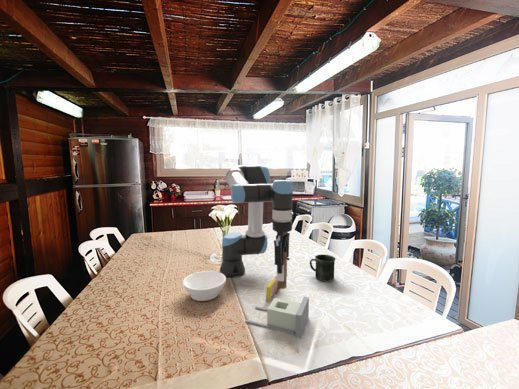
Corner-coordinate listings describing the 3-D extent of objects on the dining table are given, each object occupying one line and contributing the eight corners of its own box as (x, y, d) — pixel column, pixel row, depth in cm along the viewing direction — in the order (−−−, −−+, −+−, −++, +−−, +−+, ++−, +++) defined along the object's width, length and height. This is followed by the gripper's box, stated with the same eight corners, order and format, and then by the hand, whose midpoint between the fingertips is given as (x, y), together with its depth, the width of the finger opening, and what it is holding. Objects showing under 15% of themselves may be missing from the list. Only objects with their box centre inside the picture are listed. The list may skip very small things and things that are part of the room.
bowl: (233, 288, 135) (233, 273, 134) (213, 310, 115) (212, 292, 114) (198, 282, 141) (197, 268, 140) (174, 302, 122) (173, 285, 121)
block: (267, 325, 101) (267, 308, 101) (274, 313, 110) (274, 297, 109) (297, 332, 97) (297, 315, 96) (302, 319, 105) (302, 303, 104)
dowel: (276, 287, 101) (276, 253, 99) (278, 284, 104) (279, 250, 103) (284, 289, 100) (285, 254, 98) (287, 285, 103) (287, 251, 101)
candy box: (269, 304, 119) (269, 287, 119) (265, 303, 120) (265, 286, 119) (280, 289, 134) (281, 273, 133) (277, 288, 135) (277, 273, 134)
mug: (331, 284, 140) (332, 262, 138) (306, 278, 147) (306, 257, 146) (337, 276, 149) (337, 256, 147) (312, 271, 156) (313, 252, 155)
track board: (241, 326, 103) (241, 302, 102) (255, 308, 116) (255, 287, 115) (300, 341, 94) (301, 315, 93) (308, 320, 107) (308, 297, 106)
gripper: (285, 225, 90) (285, 289, 93) (297, 216, 105) (296, 271, 108) (265, 223, 93) (265, 285, 95) (279, 215, 108) (279, 269, 111)
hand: (281, 278), depth 102 cm, fingers closed on dowel, 3 cm apart
